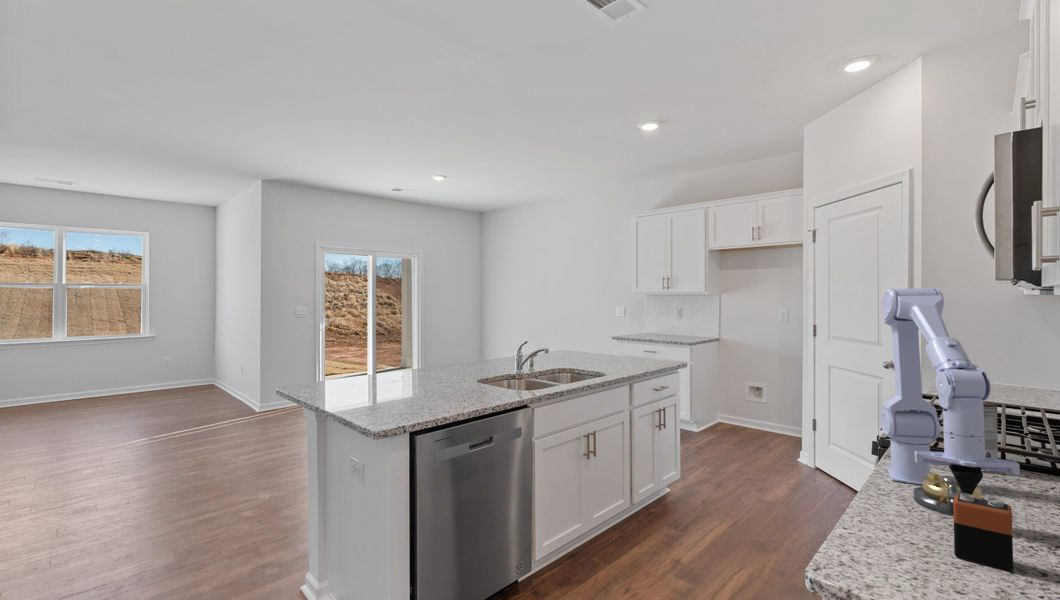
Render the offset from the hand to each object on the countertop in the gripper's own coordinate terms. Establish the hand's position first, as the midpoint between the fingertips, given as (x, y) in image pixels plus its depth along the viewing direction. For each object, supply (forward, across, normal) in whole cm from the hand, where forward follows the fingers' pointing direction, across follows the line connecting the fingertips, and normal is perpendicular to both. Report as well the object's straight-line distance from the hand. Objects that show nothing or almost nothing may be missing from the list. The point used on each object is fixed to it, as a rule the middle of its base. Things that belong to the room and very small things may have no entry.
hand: (966, 506), depth 91 cm
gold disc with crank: (+1, -1, +4) cm, 5 cm away
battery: (+3, -1, -15) cm, 16 cm away
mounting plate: (+3, -1, +9) cm, 9 cm away
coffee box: (+2, +8, +40) cm, 41 cm away
